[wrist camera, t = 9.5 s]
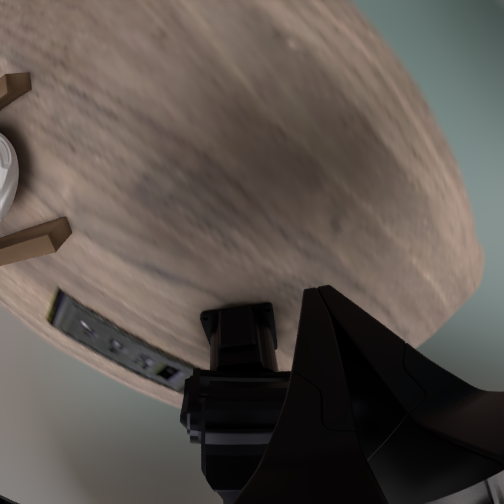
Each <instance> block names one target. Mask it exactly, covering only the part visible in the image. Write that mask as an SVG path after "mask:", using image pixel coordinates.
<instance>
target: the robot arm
mask: <svg viewBox="0 0 504 504" xmlns="http://www.w3.org/2000/svg"><path fill="white" fill-rule="evenodd" d="M265 308H268V309H265ZM206 317H207V318H206ZM200 320H201V323H202V325H203V328H204V331H205V333H206V336H207V339H208V341H209V344H210V347H211V350H210V370H202V369H200V368H193V376H190V378H188V379H186V380H185V387H184V398H183V404H182V409H181V415H180V422H181V423H182V424H183V426H185V428H186V429H187V433H188V434H190V443H193V444H201V469H202V472H203V474H204V476H205V477H206V480H207V482H208V483H209V485H210V486H211V488H212V489H213V490H214V492H217V493H218V494H219V495H220V496H221V498H222V499H223V504H504V392H496V391H485V390H481V389H478V388H476V387H474V386H472V385H470V384H468V383H467V382H465V381H463V380H462V379H460V378H458V377H457V376H455V375H454V374H452V373H450V372H448V371H447V370H445V369H444V368H442V367H440V366H439V365H437V364H436V363H434V362H433V361H431V360H430V359H428V358H427V357H425V356H424V355H423V354H421V353H420V352H418V351H417V350H416V349H414V348H413V347H412V346H411V345H409V344H408V343H406V344H405V341H404V340H403V339H401V338H400V337H399V336H397V335H396V334H395V333H393V332H392V331H391V330H389V329H388V328H387V327H385V326H384V325H383V324H381V323H380V322H379V321H378V320H376V319H375V318H374V317H372V316H371V315H370V314H368V313H367V312H366V311H364V310H363V309H362V308H360V307H359V306H358V305H356V304H355V303H353V302H352V301H351V300H349V299H348V298H347V297H345V296H344V295H343V294H341V293H340V292H339V291H337V290H336V289H335V288H333V287H332V286H330V285H325V286H319V287H318V288H315V287H314V288H308V289H304V291H303V298H302V306H301V313H300V320H299V327H298V333H297V340H296V346H295V352H294V358H293V364H292V370H291V371H280V372H278V366H277V360H276V355H275V350H276V349H277V339H276V331H275V322H274V313H273V307H272V304H271V303H262V304H255V305H249V306H242V307H235V308H228V309H221V310H213V311H205V312H202V313H201V315H200ZM0 504H19V503H17V502H14V501H12V500H10V499H8V498H6V497H4V496H2V495H0Z"/></svg>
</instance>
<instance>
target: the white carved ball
mask: <svg viewBox="0 0 504 504" xmlns="http://www.w3.org/2000/svg"><path fill="white" fill-rule="evenodd" d="M18 178H19V169H18V160H17V156H16V152H15V150H14V148H13V146H12V144H11V143H10V142H9V140H8V139H7V138H6V137H5V136H4V135H2V134H1V133H0V221H1V220H2V219H3V218H4V217H5V216H6V215H7V213H8V212H9V210H10V208H11V206H12V203H13V201H14V198H15V194H16V190H17V186H18Z"/></svg>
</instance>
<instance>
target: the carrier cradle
mask: <svg viewBox="0 0 504 504" xmlns="http://www.w3.org/2000/svg"><path fill="white" fill-rule="evenodd" d="M29 90H31V82H30V74H29V73H14V74H5V75H4V76H2V77H1V78H0V110H1V109H3V108H4V107H5V106H7V105H8V104H10V103H11V102H12V101H14V100H15V99H17V98H18V97H20V96H21V95H23V94H25V93H26V92H28V91H29ZM71 234H72V231H71V229H70V226H69V224H68V221H67V219H66V217H63V218H59V219H56V220H53V221H50V222H47V223H43V224H40V225H37V226H34V227H31V228H28V229H25V230H22V231H20V232H17V233H14V234H11V235H8V236H6V237H3V238H0V266H2V265H6V264H10V263H14V262H18V261H22V260H26V259H30V258H34V257H38V256H42V255H46V254H50V253H55V252H56V251H57V250H58V249H59V248H60V246H61V245H62V244H63V243H64V242H65V241H66V239H67V238H68V237H69V236H70V235H71Z"/></svg>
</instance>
